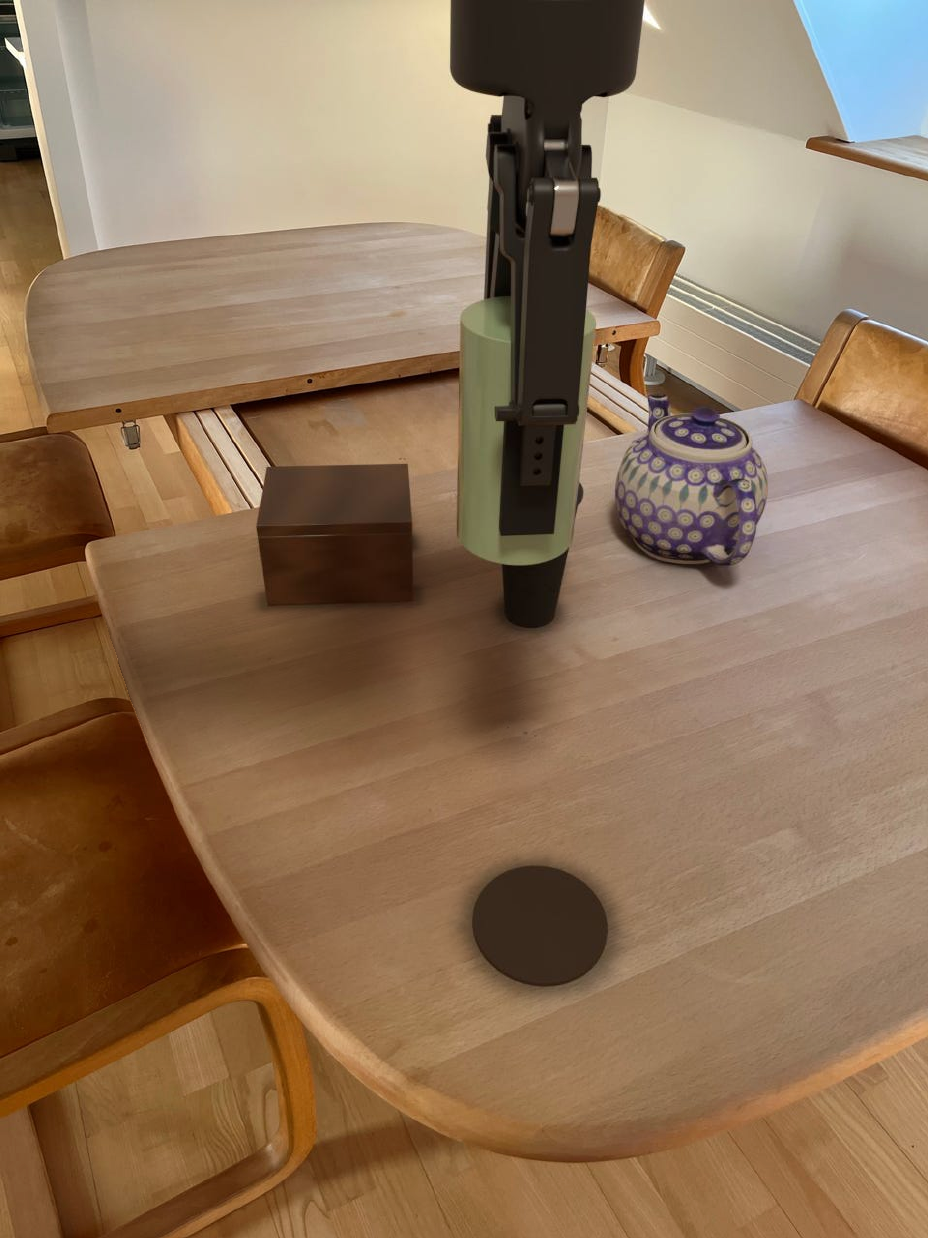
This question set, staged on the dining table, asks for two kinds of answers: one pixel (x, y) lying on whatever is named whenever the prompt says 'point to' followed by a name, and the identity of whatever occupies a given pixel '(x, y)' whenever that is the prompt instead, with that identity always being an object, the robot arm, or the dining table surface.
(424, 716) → the dining table surface
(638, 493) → the teapot
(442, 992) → the dining table surface
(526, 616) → the drinking cup
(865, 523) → the dining table surface
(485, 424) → the canister
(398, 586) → the walnut chest
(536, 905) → the coaster
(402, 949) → the dining table surface
